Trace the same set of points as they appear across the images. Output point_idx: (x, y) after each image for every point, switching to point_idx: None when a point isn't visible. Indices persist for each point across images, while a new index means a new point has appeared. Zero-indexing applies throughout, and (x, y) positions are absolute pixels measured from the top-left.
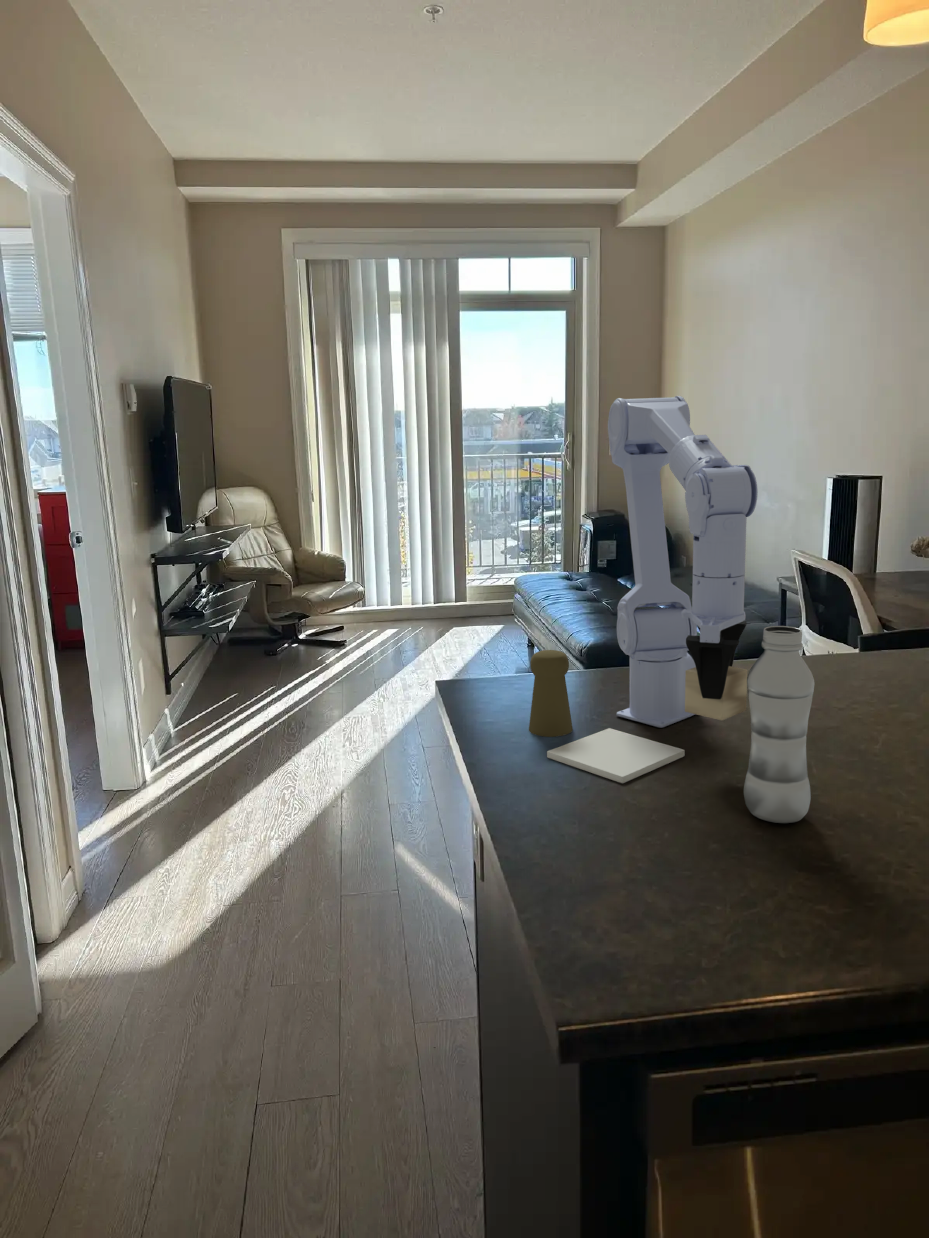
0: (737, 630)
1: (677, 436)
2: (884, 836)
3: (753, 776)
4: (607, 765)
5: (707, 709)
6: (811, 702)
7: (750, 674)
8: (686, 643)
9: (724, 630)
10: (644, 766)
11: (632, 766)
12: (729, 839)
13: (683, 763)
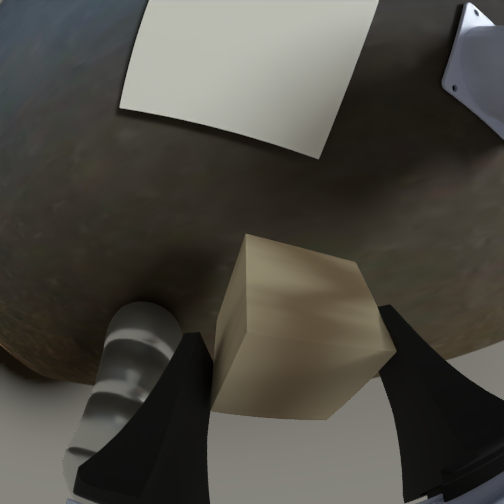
0: (407, 482)
1: None
2: None
3: (106, 345)
4: (156, 54)
5: (225, 304)
6: None
7: (69, 471)
8: (77, 479)
9: (421, 471)
10: (188, 118)
11: (176, 97)
12: (73, 291)
13: (276, 164)
